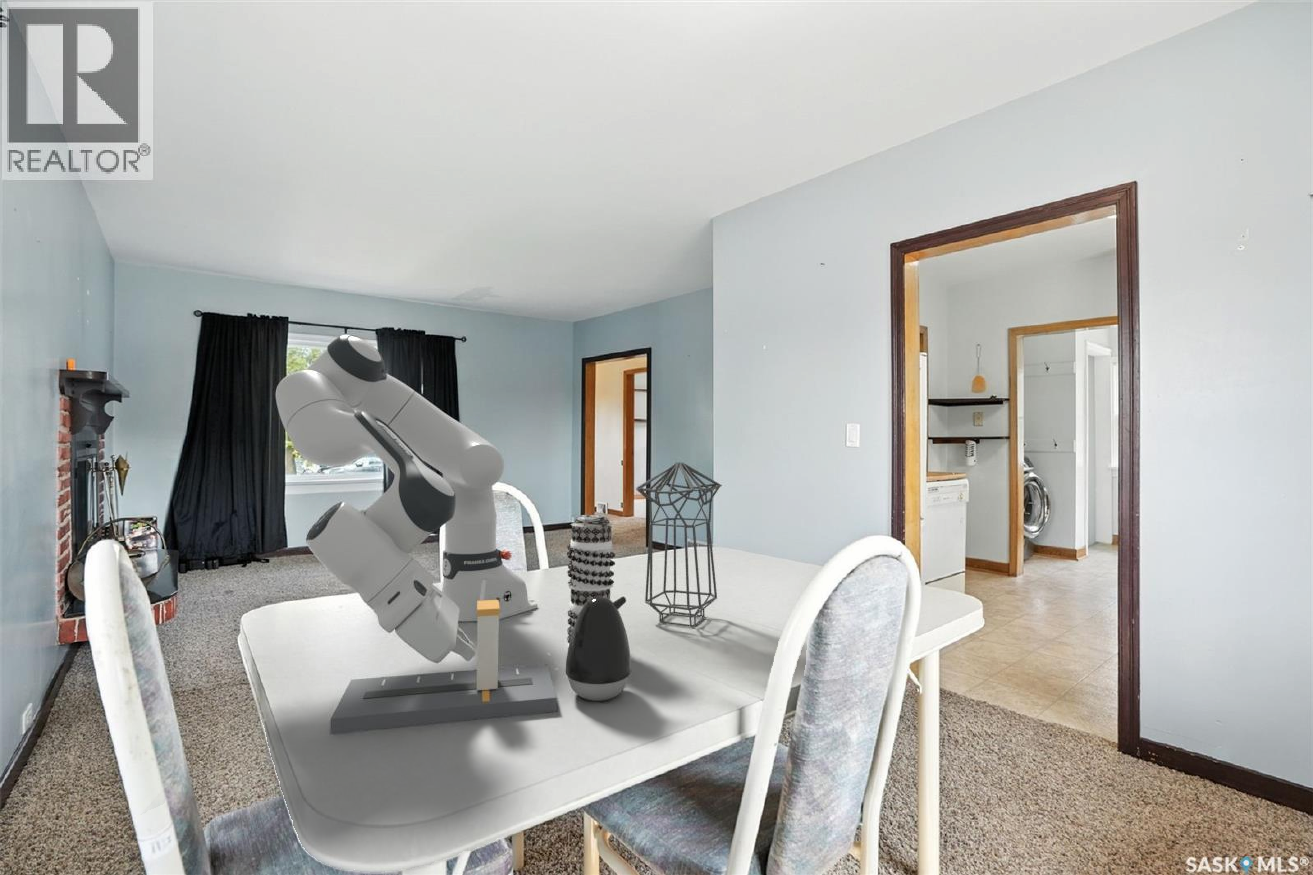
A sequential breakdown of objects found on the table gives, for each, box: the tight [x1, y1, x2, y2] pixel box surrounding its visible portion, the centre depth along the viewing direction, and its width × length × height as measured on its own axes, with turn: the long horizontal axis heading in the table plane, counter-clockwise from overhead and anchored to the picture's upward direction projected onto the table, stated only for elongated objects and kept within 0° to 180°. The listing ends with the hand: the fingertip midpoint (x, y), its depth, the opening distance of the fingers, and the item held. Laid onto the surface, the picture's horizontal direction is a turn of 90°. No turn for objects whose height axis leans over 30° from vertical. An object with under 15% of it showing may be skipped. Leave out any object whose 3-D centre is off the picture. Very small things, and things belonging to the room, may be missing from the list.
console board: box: [329, 663, 558, 735], centre depth 95 cm, size 30×14×2 cm, turn 106°
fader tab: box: [476, 600, 500, 690], centre depth 97 cm, size 3×5×12 cm, turn 16°
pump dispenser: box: [565, 596, 632, 702], centre depth 99 cm, size 10×10×15 cm
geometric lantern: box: [635, 461, 723, 628], centre depth 140 cm, size 16×16×35 cm
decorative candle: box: [566, 514, 616, 648], centre depth 121 cm, size 9×9×25 cm
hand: (472, 654), depth 96 cm, fingers closed, pressing on fader tab
